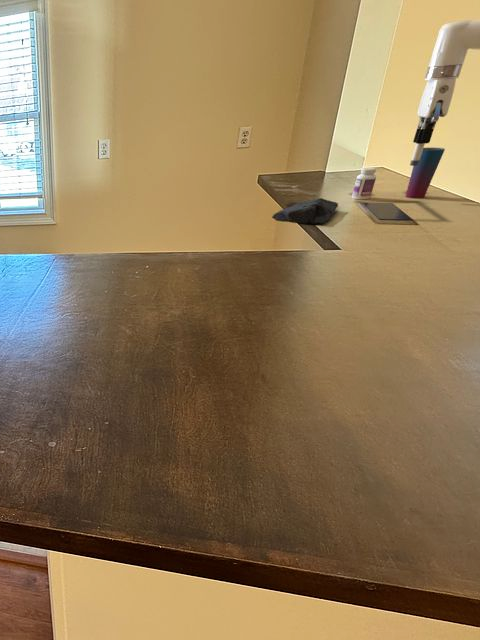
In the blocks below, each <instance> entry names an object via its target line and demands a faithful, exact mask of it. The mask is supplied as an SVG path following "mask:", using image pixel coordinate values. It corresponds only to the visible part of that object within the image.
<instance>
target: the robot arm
mask: <svg viewBox="0 0 480 640" xmlns="http://www.w3.org/2000/svg"><path fill="white" fill-rule="evenodd" d="M468 50H475V51H477V50H479V51H480V19H475V20H473V19H472V20H469V19H468V20H458V21H451V22H447V23H445V24H443V25H442V26H441V27H440V28H439V31H438V33H437V38H436V41H435V44H434V48H433V51H432V53H431V57H430V61H429V63H428V67H427V71H426V74H425V77H424V81H427V82H426V84H425V86H424V90H423V92H422V96H421V97H420V98H421V99H420V101H419V104H418V107H417V113H416V115H417V116H418V117H419V121H418V124H417V128H416V131H415V134H414V137H413V140H412V141H413V142H412V143H414V144H416V143H417V144H425V145H426V144H430V142H431V140H432V136H433V133H434V130H435V128H436V124H437V123H438V121H439V118H444V117H446V116H447V115H448V112H449V109H450V106H451V103H452V99H453V95H454V92H455V87H456V81H457V79H459V77H460V74H461V71H462V69H463V65H464V63H465V60H466V56H467V53H468ZM422 124H423V126H422ZM421 128H422V129H421Z"/></svg>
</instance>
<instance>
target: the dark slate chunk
mask: <svg viewBox="0 0 480 640" xmlns="http://www.w3.org/2000/svg"><path fill="white" fill-rule="evenodd" d="M338 207H339V203H338V202H336V201H332V200H328V199H325V198H323V197H319V198H314V199H310V200H305V201H300V202H298V203H295V204H294V205H291V206H289V207H287V208H283V209H281V210H279V211H277V212H275V213H274V214H273V215H272V216H271V218H272V219H274V220H275V222H283V223H292V224H301V225H324V224H326V223H327V222H328V221H330V219H331V218H332V217H333V215H334V213H335V212H336V210H337V208H338Z"/></svg>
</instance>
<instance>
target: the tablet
mask: <svg viewBox="0 0 480 640" xmlns="http://www.w3.org/2000/svg"><path fill="white" fill-rule="evenodd" d="M357 207H358V208H360V210H361V211H362V212H363V213H364V214H365V215H366V216H367V217H368V218H369V219H370V220H371V221H372V222H373V223H374V224H375V225H376V224H378V225H415V226H416V225H417V226H420V223H418V222H417V221H416V220H414V219H413V218H412V217H411V216H410V215H408V214H407V213H405V211H403V209H400V208H399V207H398V206H397V205H396V204H395V203H394V202H367V201H366V202H363V201H361V202H359V201H357Z"/></svg>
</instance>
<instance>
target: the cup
mask: <svg viewBox="0 0 480 640" xmlns="http://www.w3.org/2000/svg"><path fill="white" fill-rule="evenodd" d="M444 153H445V148H444V147H431V146H430V147H424V148H423V151H422V154H421V157H420V160H419V163H418V165H417V166H412V170H411V173H410V178H409V180H408V185H407V189H406V192H405V197H406V198H410V199H423V198H425V196H426V194H427V192H428V189H429V187H430V185H431V183H432V181H433V178H434V176H435V173H436V171H437V169H438V166H439V164H440V162H441V160H442V158H443V155H444Z"/></svg>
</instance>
